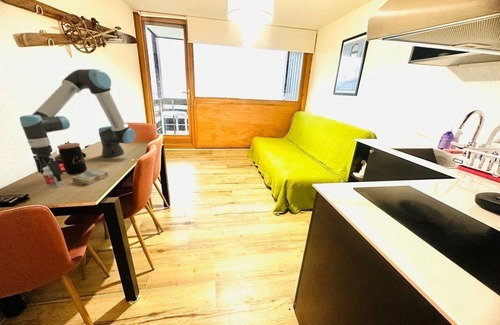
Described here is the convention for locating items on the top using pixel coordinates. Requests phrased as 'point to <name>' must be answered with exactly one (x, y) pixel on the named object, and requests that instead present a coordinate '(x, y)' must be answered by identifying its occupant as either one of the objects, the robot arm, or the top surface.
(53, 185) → the pill bottle
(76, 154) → the coffee jar
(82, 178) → the banknote stack
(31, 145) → the robot arm
